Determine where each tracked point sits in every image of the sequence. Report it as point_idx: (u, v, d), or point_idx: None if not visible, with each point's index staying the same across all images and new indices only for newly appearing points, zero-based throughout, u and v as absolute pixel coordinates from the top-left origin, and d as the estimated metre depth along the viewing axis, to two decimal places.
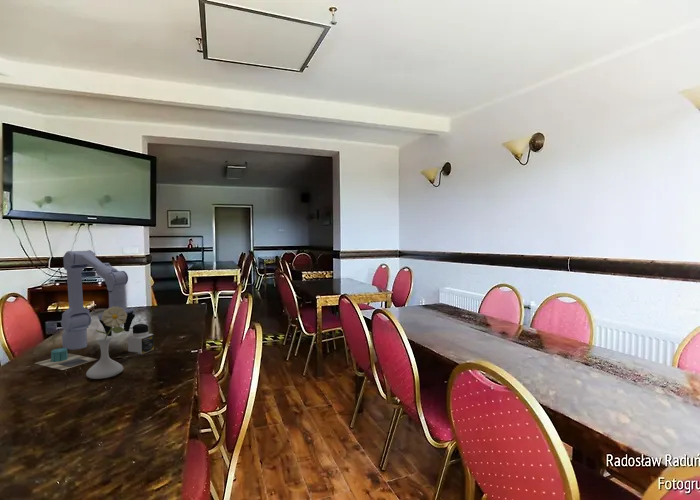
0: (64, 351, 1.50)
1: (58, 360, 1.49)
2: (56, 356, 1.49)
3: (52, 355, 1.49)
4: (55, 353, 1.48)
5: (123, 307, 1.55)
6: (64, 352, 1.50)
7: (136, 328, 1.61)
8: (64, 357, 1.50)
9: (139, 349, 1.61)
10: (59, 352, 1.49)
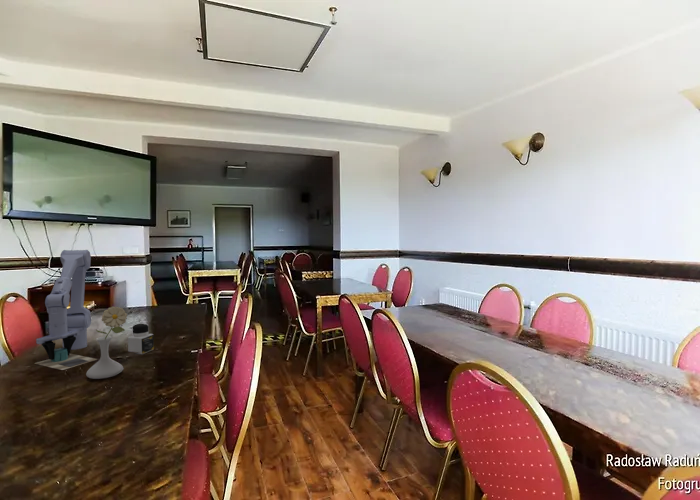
0: (64, 351, 1.50)
1: (58, 360, 1.49)
2: (56, 356, 1.49)
3: None
4: (55, 353, 1.48)
5: (64, 330, 1.50)
6: (64, 352, 1.50)
7: (136, 328, 1.61)
8: (64, 357, 1.50)
9: (139, 349, 1.61)
10: (59, 352, 1.49)
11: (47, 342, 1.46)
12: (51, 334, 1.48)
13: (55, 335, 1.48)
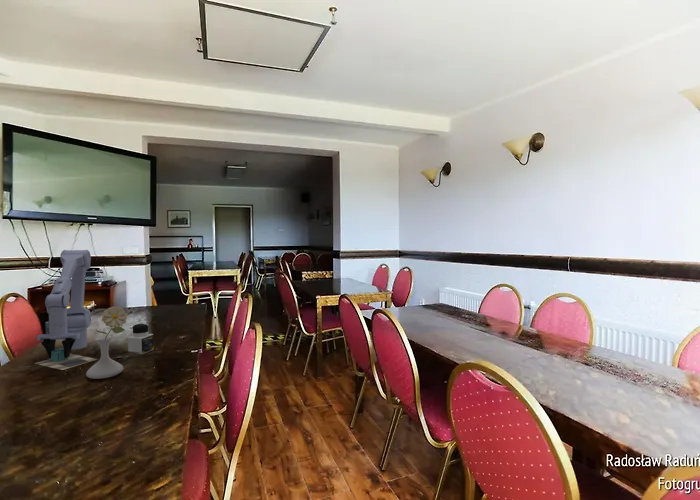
0: (56, 352, 1.49)
1: (52, 360, 1.49)
2: (51, 355, 1.49)
3: None
4: (51, 352, 1.49)
5: (56, 331, 1.48)
6: (56, 353, 1.49)
7: (136, 328, 1.61)
8: (56, 358, 1.49)
9: (139, 349, 1.61)
10: (52, 352, 1.49)
11: (45, 340, 1.49)
12: None
13: (49, 335, 1.48)
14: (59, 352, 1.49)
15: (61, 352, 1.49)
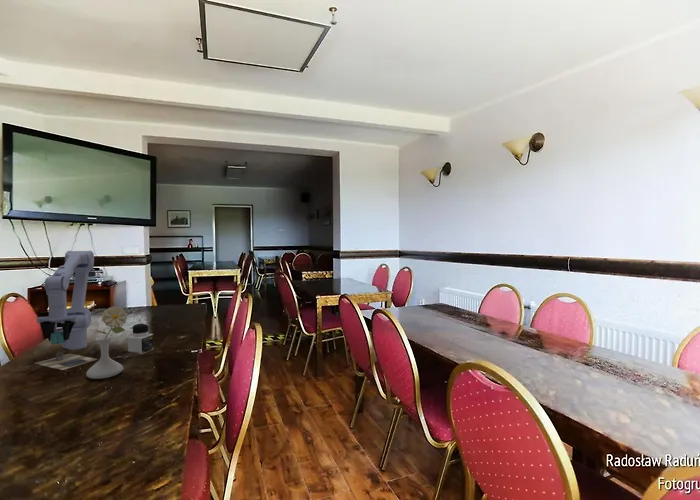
0: (56, 335, 1.48)
1: (51, 342, 1.49)
2: (50, 338, 1.49)
3: None
4: None
5: (55, 314, 1.48)
6: (56, 336, 1.48)
7: (136, 328, 1.61)
8: (56, 341, 1.48)
9: (139, 349, 1.61)
10: (52, 335, 1.48)
11: (44, 322, 1.49)
12: None
13: (48, 317, 1.48)
14: (58, 334, 1.49)
15: (60, 335, 1.49)
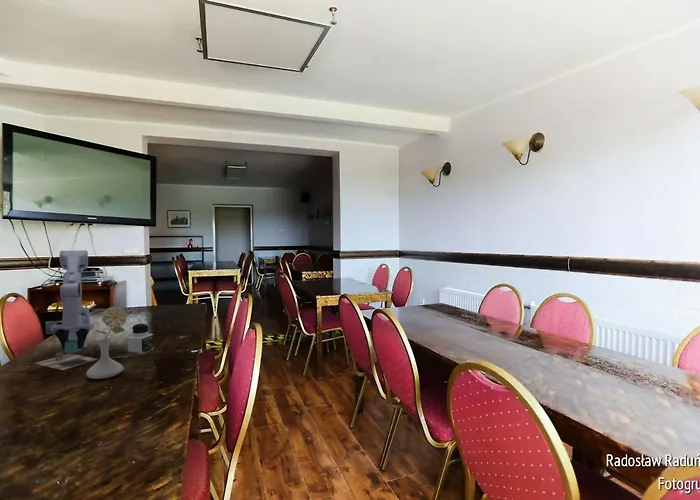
0: (70, 343, 1.45)
1: (65, 351, 1.45)
2: (65, 346, 1.45)
3: None
4: None
5: (69, 322, 1.44)
6: (70, 344, 1.45)
7: (136, 328, 1.61)
8: (70, 349, 1.45)
9: (139, 349, 1.61)
10: (66, 343, 1.45)
11: (58, 330, 1.46)
12: None
13: (63, 325, 1.45)
14: (73, 343, 1.45)
15: (75, 343, 1.46)
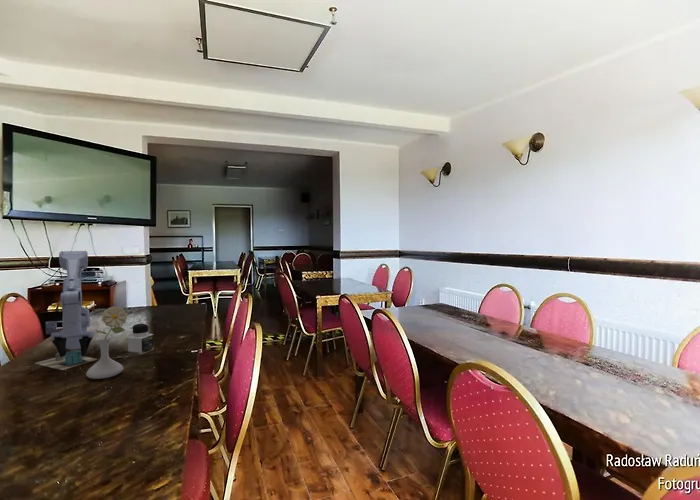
0: (70, 355, 1.45)
1: (66, 363, 1.45)
2: (65, 358, 1.46)
3: None
4: (65, 355, 1.46)
5: (70, 329, 1.44)
6: (70, 356, 1.45)
7: (136, 328, 1.61)
8: (70, 361, 1.45)
9: (139, 349, 1.61)
10: (66, 355, 1.45)
11: (58, 338, 1.46)
12: None
13: (63, 333, 1.45)
14: (73, 355, 1.45)
15: (75, 355, 1.46)
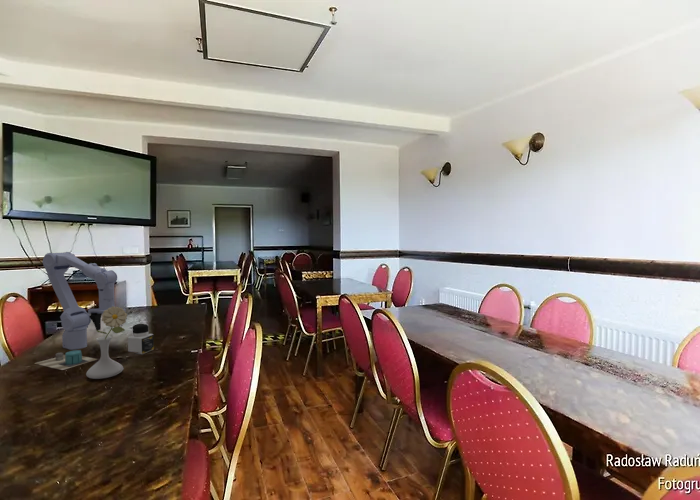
0: (70, 355, 1.45)
1: (66, 363, 1.45)
2: (65, 358, 1.46)
3: None
4: (65, 355, 1.46)
5: (105, 306, 1.62)
6: (70, 356, 1.45)
7: (136, 328, 1.61)
8: (70, 361, 1.45)
9: (139, 349, 1.61)
10: (66, 355, 1.45)
11: (95, 314, 1.63)
12: None
13: (99, 309, 1.62)
14: (73, 355, 1.45)
15: (75, 355, 1.46)
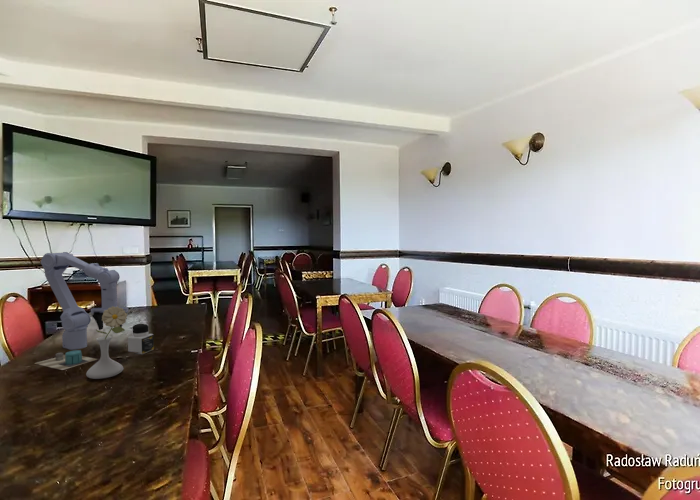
0: (70, 355, 1.45)
1: (66, 363, 1.45)
2: (65, 358, 1.46)
3: None
4: (65, 355, 1.46)
5: (108, 305, 1.63)
6: (70, 356, 1.45)
7: (136, 328, 1.61)
8: (70, 361, 1.45)
9: (139, 349, 1.61)
10: (66, 355, 1.45)
11: (97, 313, 1.65)
12: None
13: (101, 308, 1.64)
14: (73, 355, 1.45)
15: (75, 355, 1.46)
